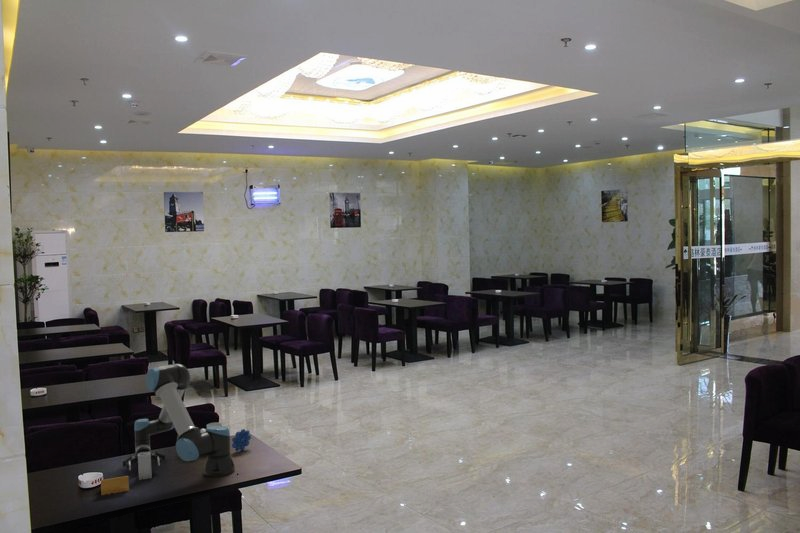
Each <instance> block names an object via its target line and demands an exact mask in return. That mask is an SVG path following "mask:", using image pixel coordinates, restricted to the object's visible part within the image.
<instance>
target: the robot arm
mask: <svg viewBox="0 0 800 533" xmlns="http://www.w3.org/2000/svg"><path fill="white" fill-rule="evenodd" d="M190 382H191V372H190V371H189V369H188V368H187V367H186V366H185V365H184V364H181V363H171V364H167V365H166V364H165V365H161V366H156V367H152V368H149V369H148V370H147V373H146V374H145V386H146V389H147V390H148V391H149V392H154V394H155V396H156V397H160V400H161V401H162V404H163V406H162V408H161V411H160V413H159V416H158V418H157V419H154V420H149V418H139V419H137V420H135V421H134V427H133V428H134V448H135V449H134V450H135V456H133V455H130V454H129V457H127V458H126V459H124V460H122V468H123V467H124V468H125V467H126V468H127V469H128V470H129V471H131V470H132V466H131V465H134V464H136V463H137V464H138V453H142V452H148V451H150V453H151V461H156V462H157V465H158V466H160V465H161V463H162V462H163V461H165V460H166V455H165V454H163V453H161V452H158V451H155V452H154V453H152V452H151V451H152V450H151V436H152V435H153V436H154V435H157V434H160V433H163V432H168V431H171V430H173V429H174V430H175V432H176V433H177V438H176V443H175V448H176V449H175V450H176V454H177V455H178V457H179V458H180V459H181V460H183V461H185V462H190V461H191V462H192V461H196V460H198V459H201V458H204V457H205V458H206V461H205V464H204V468H203V474H204V475H205V476H206V477H213V478H217V477H223V476H229V475H230V474H232V473H234V472H235V470H236V468H235V462H234V461H233V458H232V456H231V433H230V428H228V427H227V426H223V425H222V426H210V427H207V426H206V428H205V429H206V430H205V431H206V432H203V433H201V431H200V430H201V428H199V427H197V426H195V424H194V422H193V420H192V418H191V416H190V414H189V411H188V410H187V408H186V405H185V404H184V402H183V400H182V398H183V396H184V392H185V390H187V388H189V386H190Z"/></svg>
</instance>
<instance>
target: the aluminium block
mask: <svg viewBox="0 0 800 533" xmlns="http://www.w3.org/2000/svg"><path fill="white" fill-rule="evenodd" d="M151 453H152V452H151ZM151 453H150V451H148V452H142V453H138V463H137V468H138V469H137V470H138V481H141V480H142V479H143V480H148V478H149V479H153V477H152V476H153V475H152V474H153V472H152V460H151Z"/></svg>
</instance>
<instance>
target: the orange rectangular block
mask: <svg viewBox="0 0 800 533" xmlns="http://www.w3.org/2000/svg"><path fill="white" fill-rule="evenodd" d="M129 478H130V477H129V475H124V476H118V477H111V478H106V479H100V493H101V496H106V495H105V494H107V495H112V494H111V493H113V494H117V493H118V492H119V493H122V492H124V491H125V492H129V491H130V482H129V481H130V480H129Z"/></svg>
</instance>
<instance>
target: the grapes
mask: <svg viewBox="0 0 800 533" xmlns="http://www.w3.org/2000/svg"><path fill="white" fill-rule="evenodd" d="M250 434H251V433H250V430H246V429H245V428H242V429H241V430H240V431H237V432H236V433H235V436H233V437H232V439H231V442H232V444H231V447H232V449H234V450H235V452H239V451H245V449H246V447H248V446H249V445H250V441H251V439H252V435H250Z"/></svg>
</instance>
